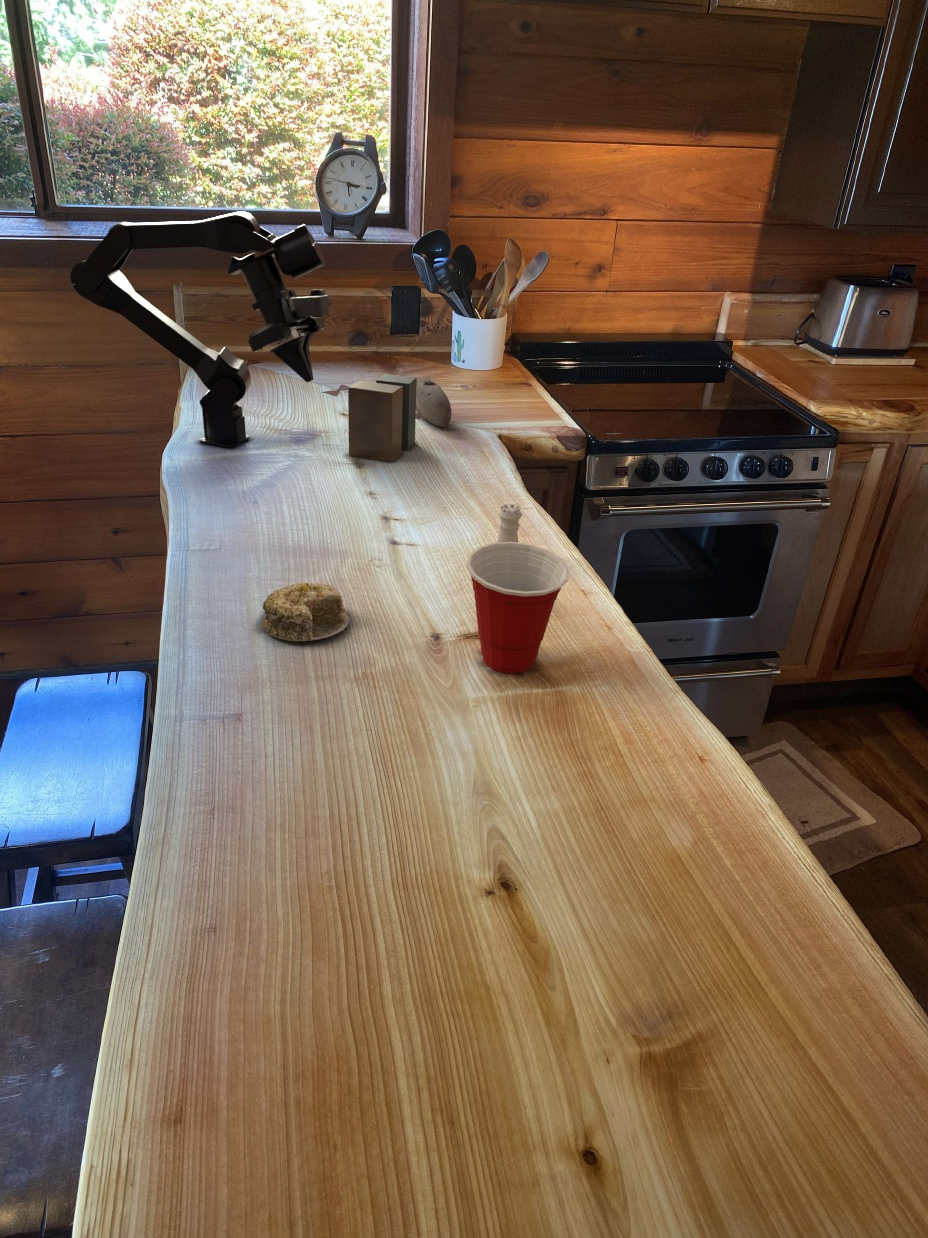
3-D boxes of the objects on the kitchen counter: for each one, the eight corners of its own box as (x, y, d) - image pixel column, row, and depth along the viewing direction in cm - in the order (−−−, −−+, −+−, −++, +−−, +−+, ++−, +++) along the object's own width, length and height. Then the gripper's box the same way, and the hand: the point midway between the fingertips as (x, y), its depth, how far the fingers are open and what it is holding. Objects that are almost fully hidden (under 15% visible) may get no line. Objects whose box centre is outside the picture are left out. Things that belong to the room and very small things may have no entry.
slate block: (375, 446, 162) (376, 379, 156) (383, 438, 166) (384, 373, 161) (407, 450, 161) (409, 383, 155) (415, 442, 165) (416, 376, 160)
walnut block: (348, 455, 157) (347, 386, 151) (360, 447, 161) (359, 380, 156) (391, 462, 155) (392, 392, 149) (401, 453, 159) (403, 386, 154)
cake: (245, 637, 102) (238, 594, 99) (291, 602, 110) (286, 561, 108) (322, 651, 98) (317, 607, 96) (364, 613, 107) (361, 572, 104)
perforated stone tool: (458, 431, 172) (460, 395, 169) (432, 433, 171) (434, 397, 167) (433, 410, 185) (434, 376, 181) (409, 411, 183) (409, 377, 180)
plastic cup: (490, 697, 93) (498, 593, 87) (443, 647, 101) (448, 550, 95) (577, 675, 97) (591, 575, 92) (526, 629, 106) (535, 535, 100)
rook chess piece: (527, 560, 123) (532, 505, 119) (515, 572, 119) (520, 516, 115) (497, 552, 124) (501, 498, 121) (484, 564, 121) (488, 509, 117)
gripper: (286, 272, 137) (330, 370, 141) (330, 268, 154) (368, 356, 158) (227, 301, 141) (272, 396, 145) (277, 295, 158) (316, 380, 162)
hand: (310, 381), depth 152 cm, fingers closed
